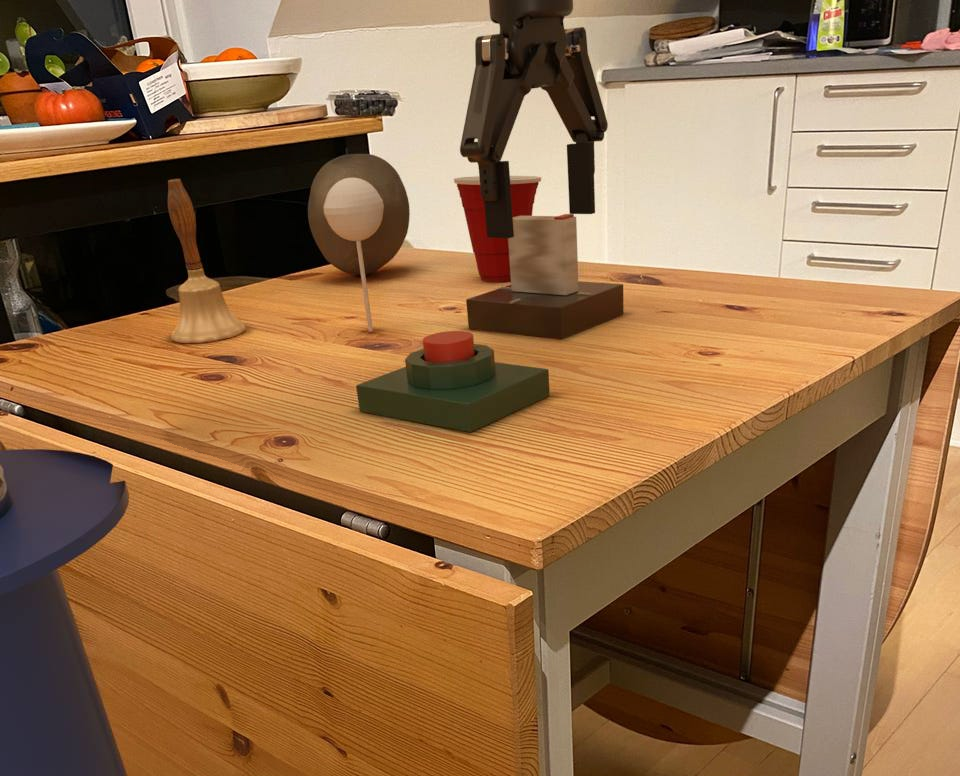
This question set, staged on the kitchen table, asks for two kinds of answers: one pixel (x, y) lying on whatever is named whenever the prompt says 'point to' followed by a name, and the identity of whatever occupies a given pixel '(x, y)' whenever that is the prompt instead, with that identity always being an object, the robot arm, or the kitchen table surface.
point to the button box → (454, 390)
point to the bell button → (448, 346)
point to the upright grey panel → (544, 254)
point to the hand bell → (197, 282)
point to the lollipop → (355, 218)
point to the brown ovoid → (393, 221)
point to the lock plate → (545, 310)
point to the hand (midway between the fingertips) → (543, 225)
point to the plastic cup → (487, 250)
